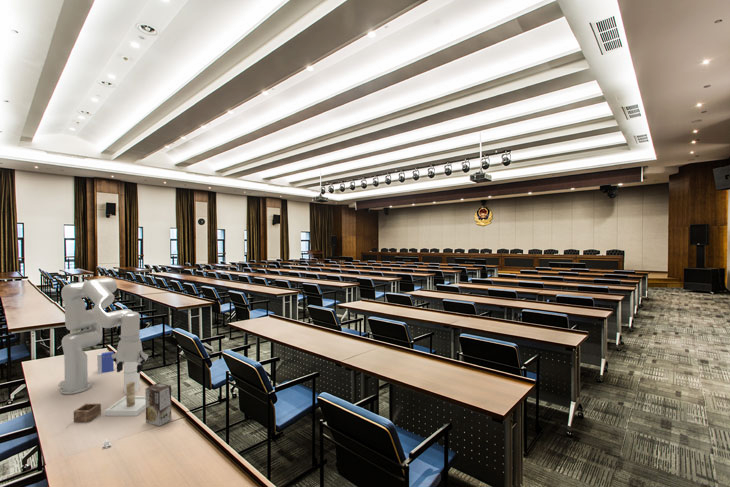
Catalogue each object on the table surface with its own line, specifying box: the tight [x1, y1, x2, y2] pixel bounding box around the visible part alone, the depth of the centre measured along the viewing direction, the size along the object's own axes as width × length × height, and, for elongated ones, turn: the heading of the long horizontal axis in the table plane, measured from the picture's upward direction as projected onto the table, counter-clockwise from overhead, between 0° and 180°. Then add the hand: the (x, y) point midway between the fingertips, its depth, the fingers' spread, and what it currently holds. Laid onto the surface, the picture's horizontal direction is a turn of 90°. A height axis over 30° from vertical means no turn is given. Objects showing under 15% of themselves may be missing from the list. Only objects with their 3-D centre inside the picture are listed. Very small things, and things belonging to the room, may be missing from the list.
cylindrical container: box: [123, 362, 141, 393], centre depth 185 cm, size 7×7×25 cm
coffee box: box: [144, 382, 172, 427], centre depth 156 cm, size 9×6×16 cm
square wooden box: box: [73, 403, 102, 423], centre depth 157 cm, size 7×7×5 cm
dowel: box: [125, 382, 136, 407], centre depth 166 cm, size 3×3×11 cm
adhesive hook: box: [101, 438, 112, 449], centre depth 137 cm, size 3×3×3 cm
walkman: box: [96, 350, 115, 375], centre depth 207 cm, size 8×3×12 cm, turn 127°
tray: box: [104, 395, 146, 417], centre depth 167 cm, size 15×14×2 cm
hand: (129, 371), depth 166 cm, fingers open, 9 cm apart
